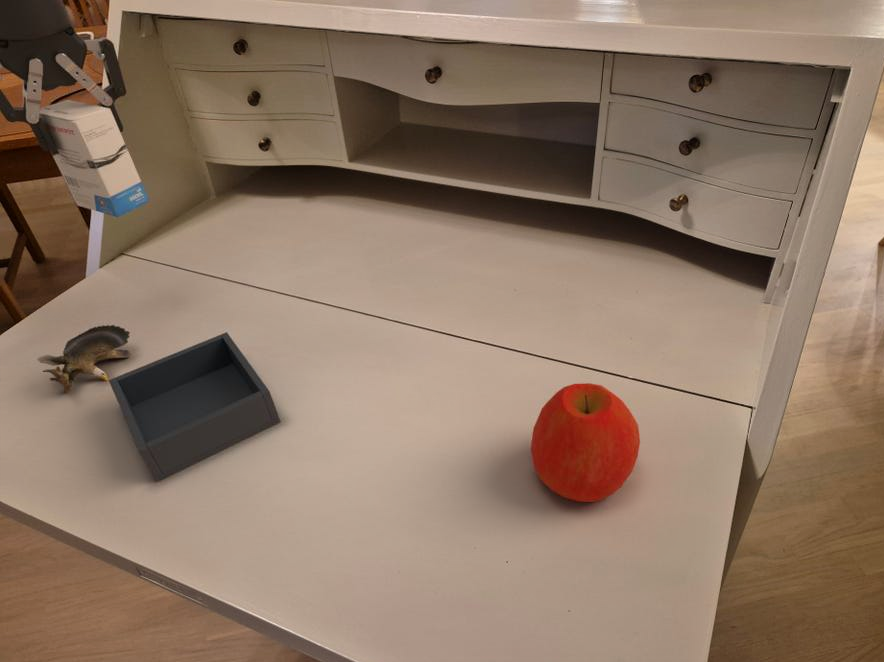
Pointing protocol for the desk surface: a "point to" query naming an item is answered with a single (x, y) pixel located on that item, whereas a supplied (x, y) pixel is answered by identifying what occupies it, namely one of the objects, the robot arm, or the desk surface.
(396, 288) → the desk surface
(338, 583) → the desk surface
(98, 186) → the ink box
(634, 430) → the apple
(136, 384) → the tote
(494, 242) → the desk surface
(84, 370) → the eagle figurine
